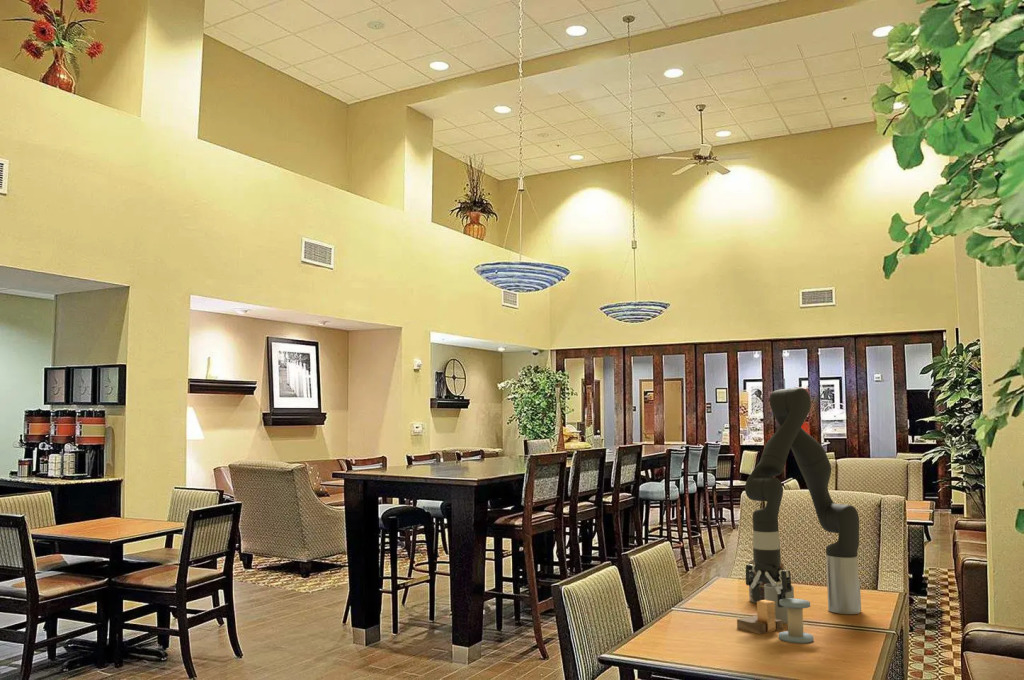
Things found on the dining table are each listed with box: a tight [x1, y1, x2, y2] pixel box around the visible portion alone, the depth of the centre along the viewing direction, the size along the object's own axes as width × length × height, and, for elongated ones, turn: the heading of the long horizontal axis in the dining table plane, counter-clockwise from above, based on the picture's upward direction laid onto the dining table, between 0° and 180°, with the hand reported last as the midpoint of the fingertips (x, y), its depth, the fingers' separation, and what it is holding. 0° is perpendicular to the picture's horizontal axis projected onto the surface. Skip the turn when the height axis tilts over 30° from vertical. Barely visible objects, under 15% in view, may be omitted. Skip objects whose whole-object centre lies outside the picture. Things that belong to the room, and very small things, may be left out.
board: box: [736, 615, 784, 635], centre depth 235 cm, size 10×8×2 cm
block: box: [756, 600, 777, 633], centre depth 234 cm, size 4×4×8 cm
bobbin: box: [778, 597, 814, 644], centre depth 224 cm, size 9×9×10 cm
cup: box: [764, 584, 795, 624], centre depth 246 cm, size 8×8×10 cm
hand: (769, 604), depth 234 cm, fingers open, 8 cm apart
